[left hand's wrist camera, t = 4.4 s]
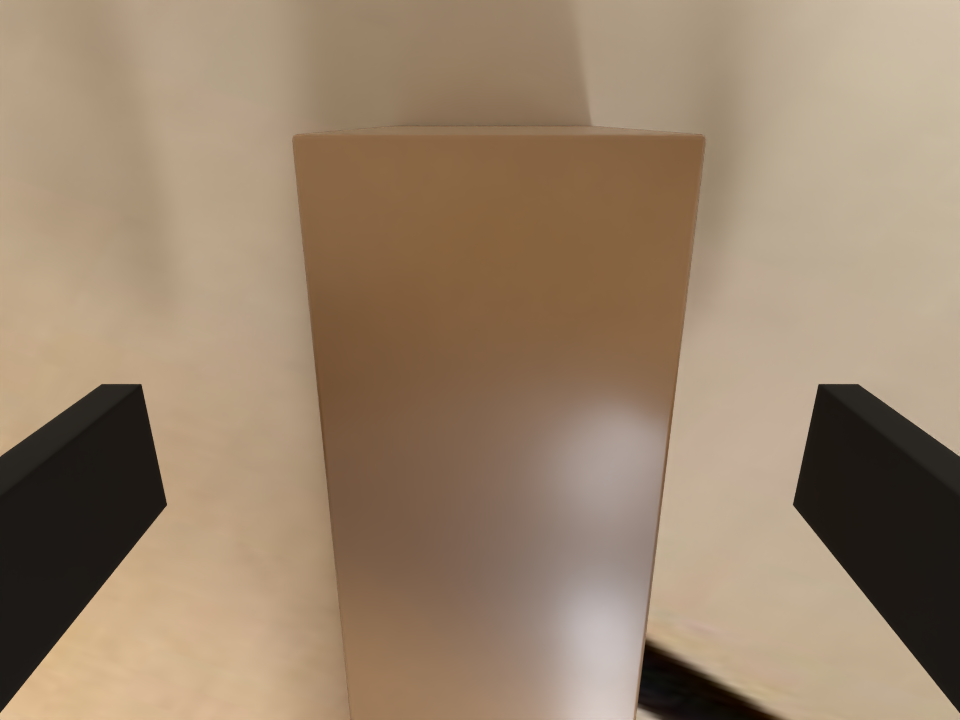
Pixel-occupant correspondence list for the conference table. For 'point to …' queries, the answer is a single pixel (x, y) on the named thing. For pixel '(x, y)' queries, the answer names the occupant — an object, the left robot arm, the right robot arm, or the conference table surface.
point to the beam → (496, 405)
